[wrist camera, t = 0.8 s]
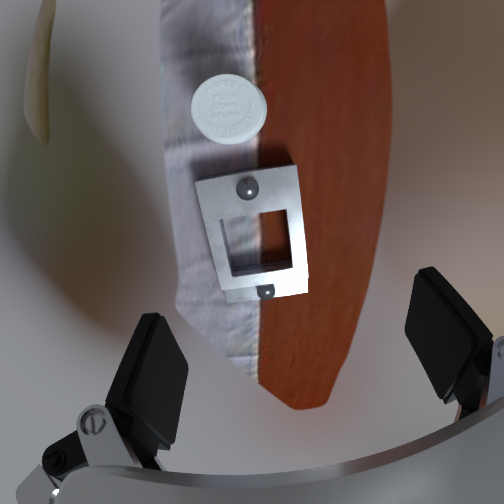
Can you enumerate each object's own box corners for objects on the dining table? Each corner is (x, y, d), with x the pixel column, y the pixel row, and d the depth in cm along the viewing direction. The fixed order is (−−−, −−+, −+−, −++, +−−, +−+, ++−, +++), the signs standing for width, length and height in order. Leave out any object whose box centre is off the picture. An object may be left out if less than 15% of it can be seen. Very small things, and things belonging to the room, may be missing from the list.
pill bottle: (252, 148, 29) (252, 159, 19) (200, 132, 28) (172, 135, 18) (271, 98, 26) (282, 82, 16) (218, 82, 25) (199, 58, 15)
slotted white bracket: (198, 178, 30) (193, 183, 28) (293, 162, 30) (297, 166, 27) (228, 298, 38) (226, 312, 35) (306, 287, 37) (310, 300, 34)
